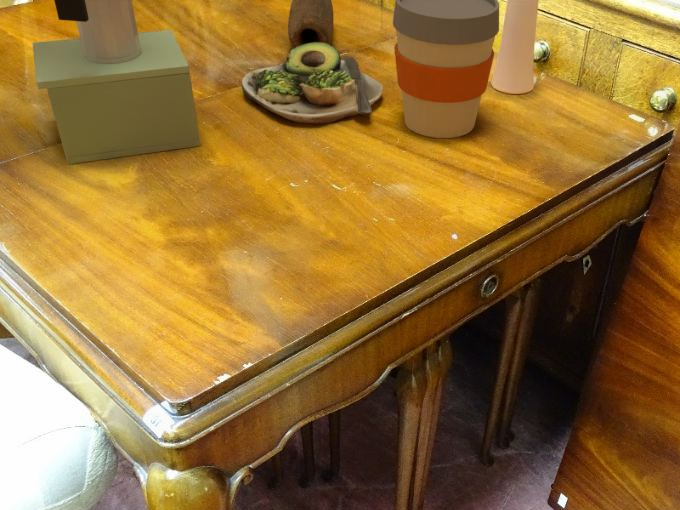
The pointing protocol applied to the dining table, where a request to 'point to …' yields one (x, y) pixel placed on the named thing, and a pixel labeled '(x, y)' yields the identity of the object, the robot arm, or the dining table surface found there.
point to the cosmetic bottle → (517, 48)
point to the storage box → (125, 117)
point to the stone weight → (310, 22)
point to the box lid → (74, 69)
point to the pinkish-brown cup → (109, 32)
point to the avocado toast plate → (313, 86)
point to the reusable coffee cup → (444, 62)
